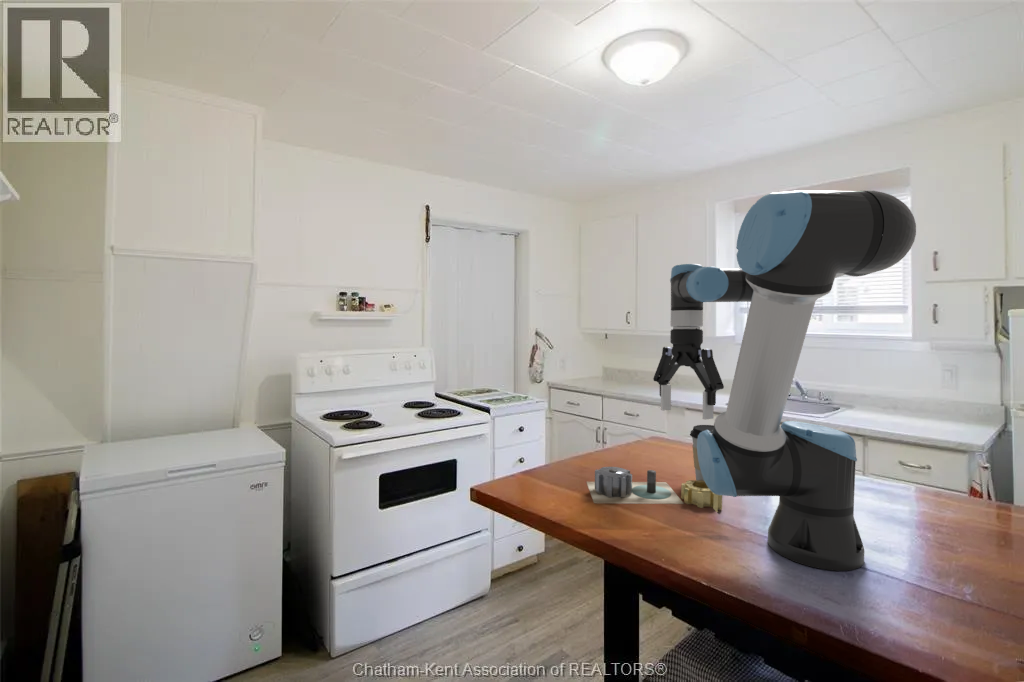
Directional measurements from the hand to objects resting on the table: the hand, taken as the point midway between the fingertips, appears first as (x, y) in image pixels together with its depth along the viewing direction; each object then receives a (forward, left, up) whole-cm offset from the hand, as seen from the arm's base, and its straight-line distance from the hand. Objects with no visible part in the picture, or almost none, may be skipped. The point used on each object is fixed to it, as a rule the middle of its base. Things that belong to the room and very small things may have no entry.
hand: (685, 414), depth 121 cm
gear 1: (-6, +19, -17) cm, 26 cm away
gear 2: (-11, 0, -19) cm, 22 cm away
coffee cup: (+2, -7, -19) cm, 20 cm away
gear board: (-6, +14, -19) cm, 24 cm away
